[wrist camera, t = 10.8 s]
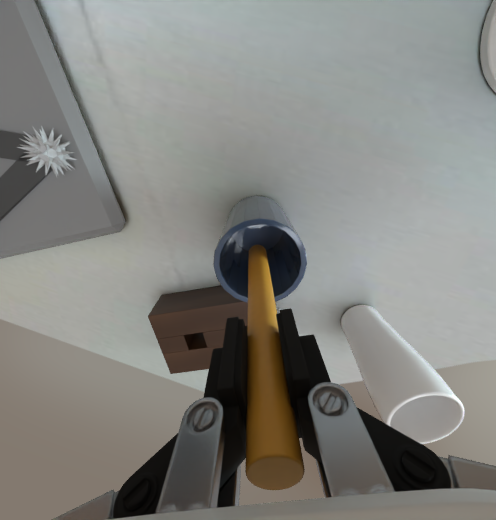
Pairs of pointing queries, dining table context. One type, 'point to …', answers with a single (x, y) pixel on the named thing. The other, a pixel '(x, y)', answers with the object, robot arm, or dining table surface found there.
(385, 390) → the drinking glass
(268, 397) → the orange rod
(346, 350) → the dining table surface
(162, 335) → the brown wooden block
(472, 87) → the dining table surface
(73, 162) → the decorative plate
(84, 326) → the dining table surface
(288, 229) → the tumbler
